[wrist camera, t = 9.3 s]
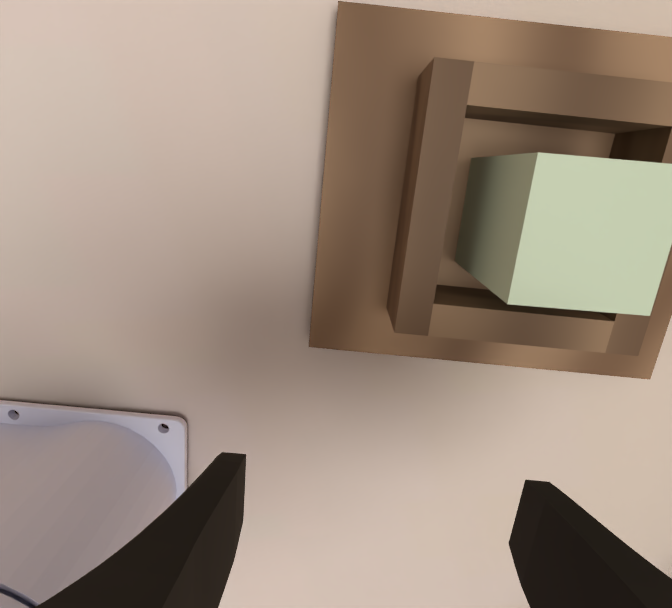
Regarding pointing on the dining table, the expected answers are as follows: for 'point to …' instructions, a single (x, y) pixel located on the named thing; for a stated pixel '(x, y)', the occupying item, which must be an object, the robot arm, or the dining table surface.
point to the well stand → (452, 176)
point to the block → (568, 230)
